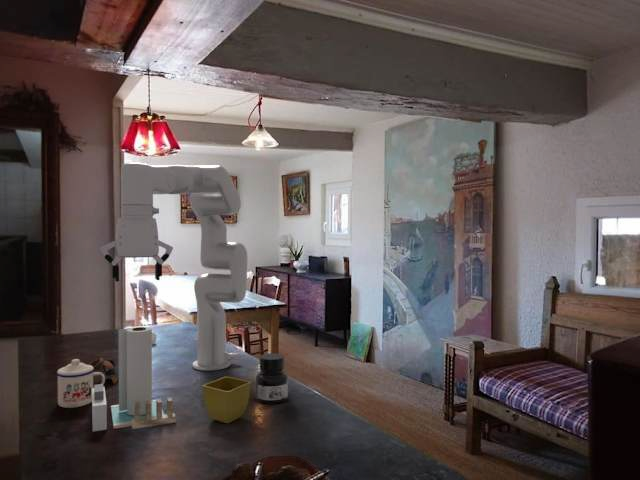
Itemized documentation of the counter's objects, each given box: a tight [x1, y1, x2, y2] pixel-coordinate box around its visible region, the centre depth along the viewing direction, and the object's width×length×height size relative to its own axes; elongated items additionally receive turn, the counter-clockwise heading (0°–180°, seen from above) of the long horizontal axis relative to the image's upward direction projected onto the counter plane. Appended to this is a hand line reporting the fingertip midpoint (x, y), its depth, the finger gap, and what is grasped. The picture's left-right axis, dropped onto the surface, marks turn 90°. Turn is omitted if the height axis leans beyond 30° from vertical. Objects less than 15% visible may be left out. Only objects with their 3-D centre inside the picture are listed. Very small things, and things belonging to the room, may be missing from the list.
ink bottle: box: [255, 353, 289, 405], centre depth 140 cm, size 10×9×12 cm
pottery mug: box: [88, 357, 119, 385], centre depth 154 cm, size 12×10×8 cm
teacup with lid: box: [56, 358, 106, 409], centre depth 136 cm, size 12×9×12 cm
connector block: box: [91, 383, 108, 433], centre depth 124 cm, size 3×14×8 cm, turn 25°
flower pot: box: [201, 376, 252, 424], centre depth 125 cm, size 9×9×9 cm
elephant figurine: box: [152, 330, 160, 345], centre depth 202 cm, size 7×8×6 cm
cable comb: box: [131, 397, 177, 430], centre depth 122 cm, size 10×2×6 cm, turn 115°
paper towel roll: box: [118, 326, 153, 416], centre depth 128 cm, size 7×6×21 cm
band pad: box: [110, 399, 165, 430], centre depth 128 cm, size 12×14×1 cm
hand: (137, 280), depth 127 cm, fingers open, 9 cm apart
